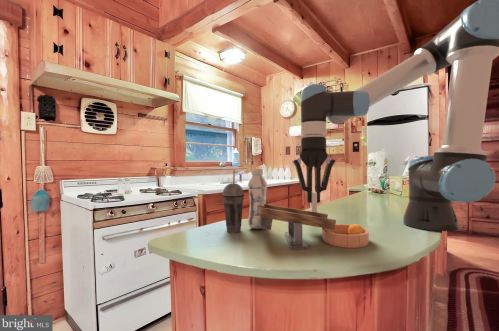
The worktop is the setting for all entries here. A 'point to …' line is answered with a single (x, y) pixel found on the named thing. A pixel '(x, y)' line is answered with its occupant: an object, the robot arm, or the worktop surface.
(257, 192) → the plastic bottle
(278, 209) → the trough
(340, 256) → the worktop surface
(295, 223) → the stand
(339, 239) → the bowl
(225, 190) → the beverage cup
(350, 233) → the ball
